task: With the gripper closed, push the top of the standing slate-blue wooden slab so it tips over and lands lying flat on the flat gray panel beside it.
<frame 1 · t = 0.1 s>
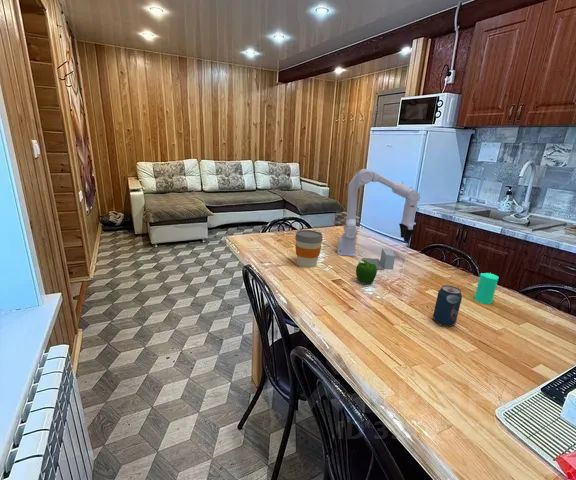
hand: (404, 239, 159), 10 cm above the table, tool pointing down, fingers open, 7 cm apart
soda can: (443, 322, 104), on the table
flat gray panel: (372, 264, 152), on the table
bell pepper: (364, 282, 131), on the table
candle: (482, 300, 121), on the table
reusable coffee cup: (306, 264, 147), on the table
slab: (386, 265, 151), on the table
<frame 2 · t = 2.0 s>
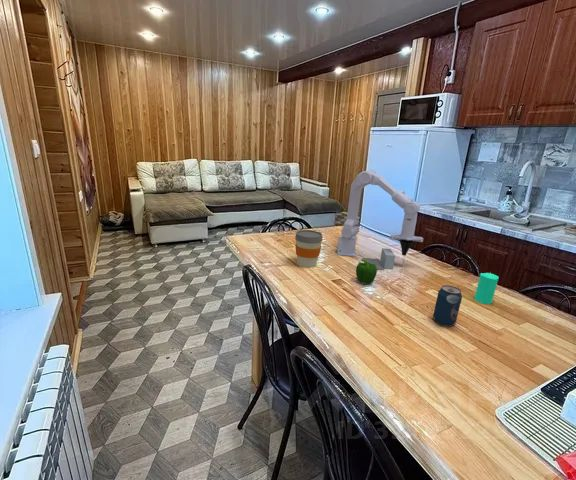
hand: (403, 254, 149), 6 cm above the table, tool pointing down, fingers closed
nothing on the table moved.
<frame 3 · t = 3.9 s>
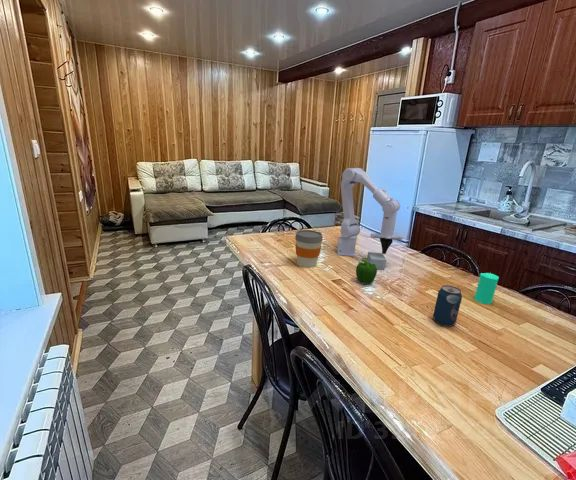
hand: (383, 253, 150), 6 cm above the table, tool pointing down, fingers closed
slab: (383, 260, 151), point 2 cm above the table, tilted 90°, touching flat gray panel
everything else where it was.
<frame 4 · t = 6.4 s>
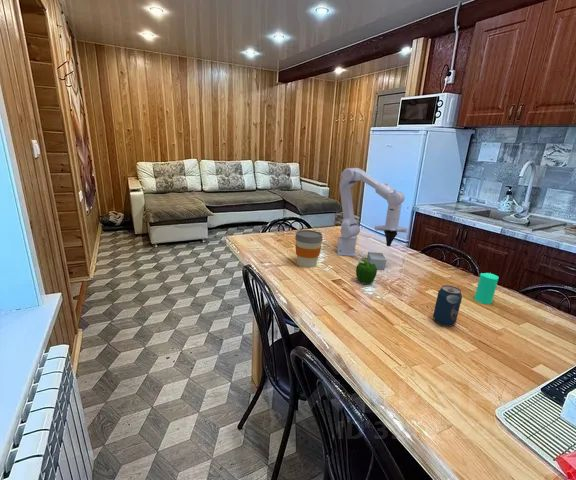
hand: (388, 245, 149), 10 cm above the table, tool pointing down, fingers closed
nothing on the table moved.
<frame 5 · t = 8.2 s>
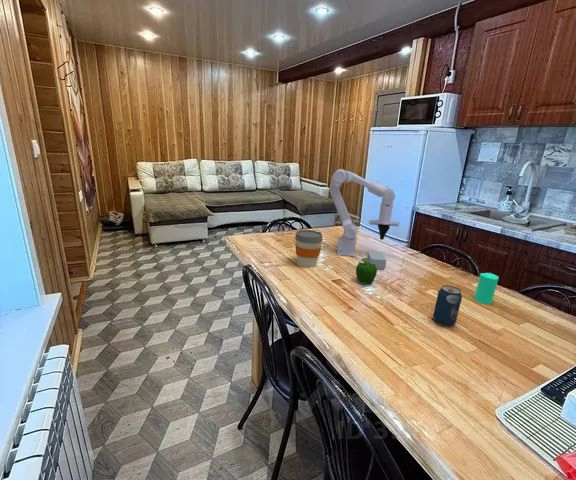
hand: (381, 239, 159), 10 cm above the table, tool pointing down, fingers closed
nothing on the table moved.
at the end: slab tilted 90°; slab inside the target area (4.7 cm from its centre), point 2.4 cm above the table; the gripper is holding nothing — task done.
